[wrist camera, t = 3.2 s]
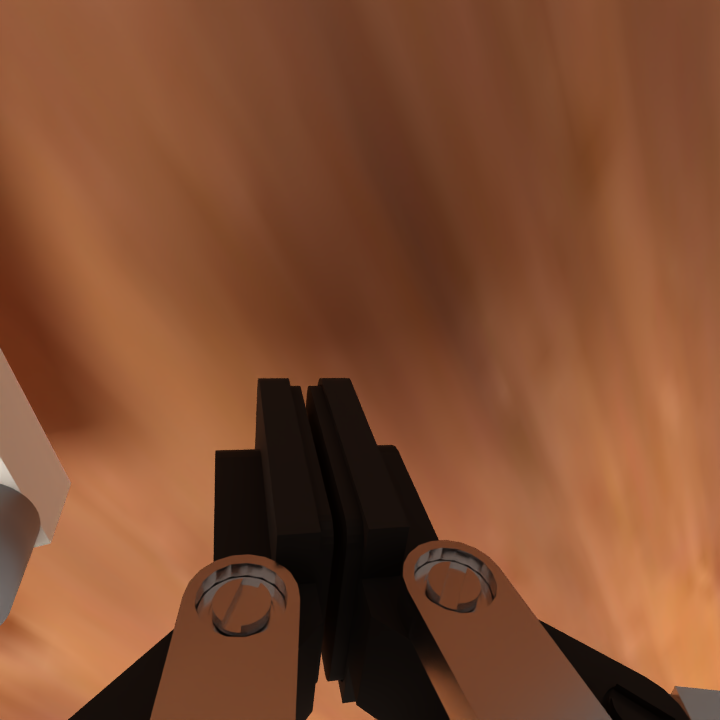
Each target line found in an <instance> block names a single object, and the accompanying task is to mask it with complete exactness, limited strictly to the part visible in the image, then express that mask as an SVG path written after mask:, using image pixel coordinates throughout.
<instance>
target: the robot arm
mask: <svg viewBox="0 0 720 720" xmlns="http://www.w3.org/2000/svg"><path fill="white" fill-rule="evenodd" d="M321 653H322V659H323V665H324V671H325V676H326V679H327V681H335V680H338V682H339V687H340V692H341V698H342V703H348V702H355V701H356V705H357V706H359V707H360V708H362V709H363V710H364V711H366V712H367V713H369V714H370V715H371V716H373V717H374V718H375V719H374V720H720V691H717V690H707V689H697V688H688V687H678V686H675V687H674V689H673V691H672V693H671V694H668V693H667V692H666V691H665V690H664V689H663V688H661V687H660V686H658V685H657V684H655V683H654V682H652V681H651V680H649V679H648V678H646V677H645V676H643V675H641V674H639V673H637V672H635V671H633V670H632V669H630V668H628V667H626V666H624V665H622V664H620V663H619V662H617V661H615V660H613V659H611V658H609V657H607V656H606V655H604V654H602V653H600V652H598V651H596V650H594V649H592V648H591V647H589V646H587V645H585V644H583V643H581V642H579V641H578V640H576V639H574V638H572V637H570V636H568V635H566V634H565V633H563V632H561V631H559V630H557V629H555V628H553V627H552V626H550V625H548V624H546V623H544V622H542V621H540V620H538V619H537V617H536V616H535V615H534V613H533V612H532V611H531V609H530V608H529V607H528V605H527V604H526V603H525V601H524V600H523V599H522V597H521V596H520V595H519V593H518V592H517V591H516V589H515V588H514V586H513V585H512V584H511V582H510V581H509V580H508V578H507V577H506V576H505V574H504V573H503V572H502V570H501V569H500V568H499V567H498V566H497V565H496V564H495V562H494V561H493V560H492V559H491V558H490V557H488V556H487V555H485V554H484V553H482V552H481V551H479V550H478V549H476V548H474V547H471V546H469V545H466V544H464V543H461V542H455V541H449V540H438V537H437V535H436V533H435V531H434V529H433V526H432V524H431V522H430V520H429V518H428V515H427V513H426V511H425V509H424V507H423V504H422V502H421V500H420V498H419V496H418V493H417V491H416V489H415V487H414V485H413V482H412V480H411V478H410V476H409V473H408V471H407V469H406V467H405V465H404V462H403V460H402V458H401V456H400V454H399V451H398V450H397V448H396V447H395V446H393V445H378V446H377V444H376V442H375V439H374V437H373V434H372V432H371V429H370V427H369V424H368V422H367V419H366V417H365V414H364V412H363V410H362V407H361V405H360V402H359V400H358V397H357V395H356V392H355V390H354V387H353V385H352V382H351V380H350V379H349V378H320V379H319V382H318V386H309V387H308V390H307V400H306V407H305V403H304V399H303V395H302V391H301V387H300V386H290V382H289V379H288V378H258V386H257V411H256V438H255V449H250V450H218V451H216V452H215V509H214V562H213V563H211V564H209V565H208V566H206V567H204V568H203V569H201V570H200V571H199V572H198V573H197V574H196V575H195V576H194V577H193V578H192V579H191V580H190V582H189V584H188V586H187V588H186V590H185V592H184V594H183V597H182V601H181V604H180V608H179V612H178V616H177V620H176V623H175V627H174V629H173V630H172V631H171V632H170V633H169V634H168V635H166V636H165V637H164V638H163V639H162V640H161V641H159V642H158V643H157V644H156V645H155V646H154V647H152V648H151V649H150V650H149V651H148V652H147V653H145V654H144V655H143V656H142V657H141V658H140V659H138V660H137V661H136V662H135V663H134V664H133V665H131V666H130V667H129V668H128V669H127V670H126V671H124V672H123V673H122V674H121V675H120V676H118V677H117V678H116V679H115V680H114V681H113V682H111V683H110V684H109V685H108V686H107V687H106V688H104V689H103V690H102V691H101V692H100V693H99V694H97V695H96V696H95V697H94V698H93V699H92V700H90V701H89V702H88V703H87V704H86V705H85V706H83V707H82V708H81V709H80V710H79V711H78V712H76V713H75V714H74V715H73V716H72V717H71V718H69V719H68V720H306V719H307V717H308V716H309V715H310V714H311V712H312V710H313V701H314V693H315V684H316V683H317V681H318V675H319V666H320V658H321Z"/></svg>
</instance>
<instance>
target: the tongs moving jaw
mask: <svg viewBox="0 0 720 720" xmlns="http://www.w3.org/2000/svg"><path fill="white" fill-rule="evenodd" d="M70 485H71V482H70V480H69V478H68V476H67V474H66V472H65V470H64V468H63V466H62V465H61V463H60V461H59V459H58V457H57V455H56V453H55V451H54V449H53V447H52V446H51V444H50V442H49V440H48V438H47V436H46V434H45V432H44V430H43V428H42V426H41V425H40V423H39V421H38V419H37V417H36V415H35V413H34V411H33V409H32V407H31V405H30V404H29V402H28V400H27V398H26V396H25V394H24V392H23V390H22V388H21V386H20V384H19V383H18V381H17V379H16V377H15V375H14V373H13V371H12V369H11V367H10V365H9V364H8V362H7V360H6V358H5V356H4V354H3V352H2V350H1V348H0V625H1V624H2V623H3V622H4V621H5V620H6V618H7V616H8V615H9V613H10V610H11V607H12V604H13V602H14V599H15V596H16V594H17V591H18V588H19V585H20V583H21V580H22V577H23V575H24V572H25V569H26V567H27V564H28V561H29V558H30V556H31V553H32V550H33V548H34V547H38V546H42V545H46V544H50V543H51V542H52V539H53V536H54V533H55V530H56V527H57V524H58V521H59V518H60V515H61V512H62V509H63V506H64V503H65V500H66V497H67V494H68V491H69V488H70Z"/></svg>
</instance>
